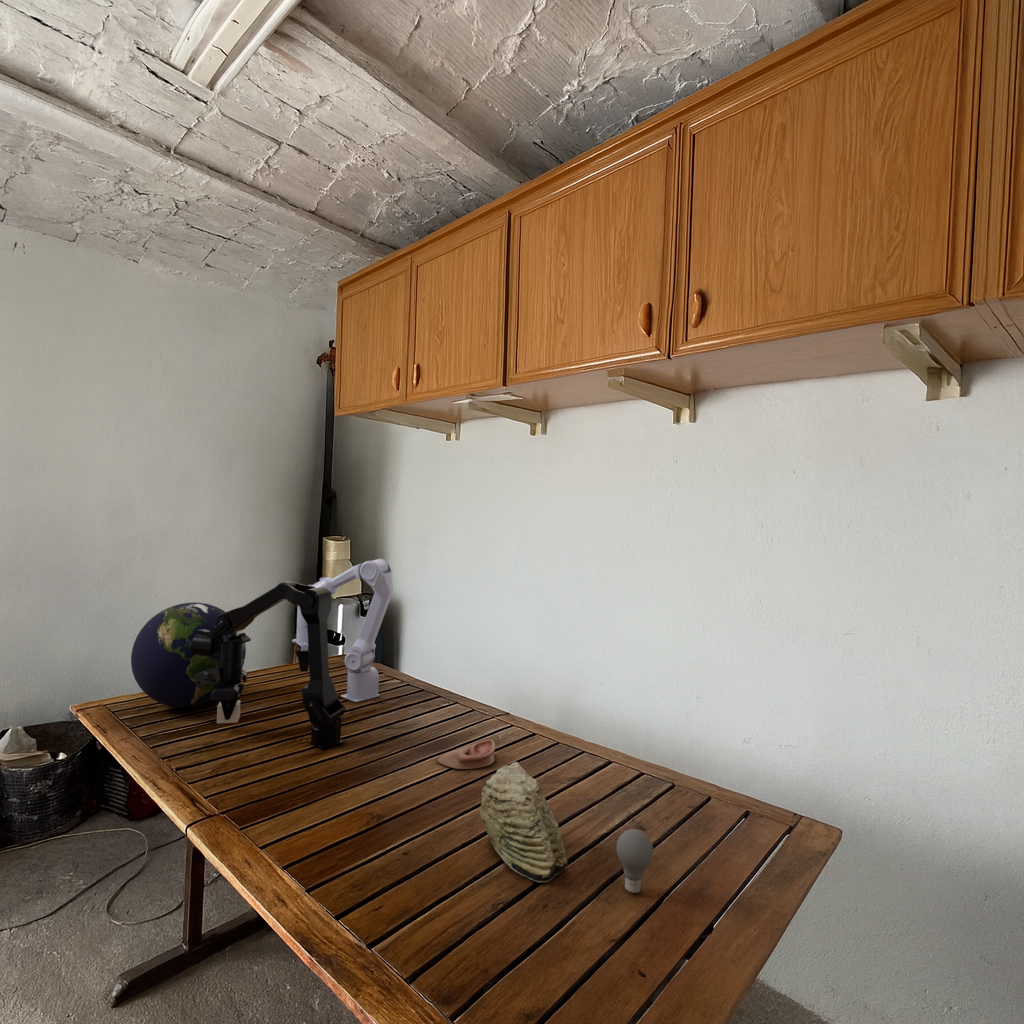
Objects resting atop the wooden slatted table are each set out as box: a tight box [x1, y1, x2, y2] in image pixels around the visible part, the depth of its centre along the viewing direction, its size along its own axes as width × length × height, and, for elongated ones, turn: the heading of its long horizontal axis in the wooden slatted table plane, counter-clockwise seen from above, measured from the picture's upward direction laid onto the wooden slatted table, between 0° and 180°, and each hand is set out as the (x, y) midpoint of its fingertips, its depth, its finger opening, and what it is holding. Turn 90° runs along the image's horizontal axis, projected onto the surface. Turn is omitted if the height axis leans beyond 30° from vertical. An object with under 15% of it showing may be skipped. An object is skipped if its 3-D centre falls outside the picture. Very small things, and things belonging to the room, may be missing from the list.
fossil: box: [479, 761, 569, 883], centre depth 114 cm, size 9×18×15 cm, turn 46°
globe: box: [130, 601, 247, 708], centre depth 186 cm, size 30×30×30 cm
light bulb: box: [615, 828, 654, 894], centre depth 106 cm, size 6×6×10 cm
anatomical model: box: [437, 739, 496, 770], centre depth 155 cm, size 13×4×12 cm
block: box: [216, 699, 241, 724], centre depth 168 cm, size 4×5×5 cm
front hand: (228, 716), depth 168 cm, fingers closed on block, 4 cm apart
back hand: (304, 668), depth 204 cm, fingers open, 7 cm apart
